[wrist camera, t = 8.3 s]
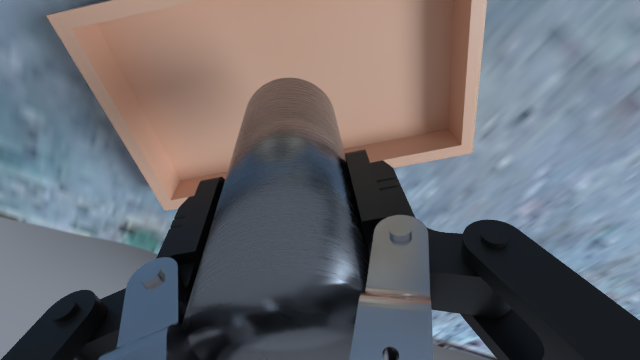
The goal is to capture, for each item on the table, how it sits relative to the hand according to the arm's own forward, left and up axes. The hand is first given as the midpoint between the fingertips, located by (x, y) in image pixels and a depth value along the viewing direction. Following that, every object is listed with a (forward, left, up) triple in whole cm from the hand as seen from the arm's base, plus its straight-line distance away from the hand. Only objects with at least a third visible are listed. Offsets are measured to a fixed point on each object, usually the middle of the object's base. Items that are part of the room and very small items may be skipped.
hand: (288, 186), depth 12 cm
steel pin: (0, 0, -5) cm, 5 cm away
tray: (0, 0, -12) cm, 12 cm away
